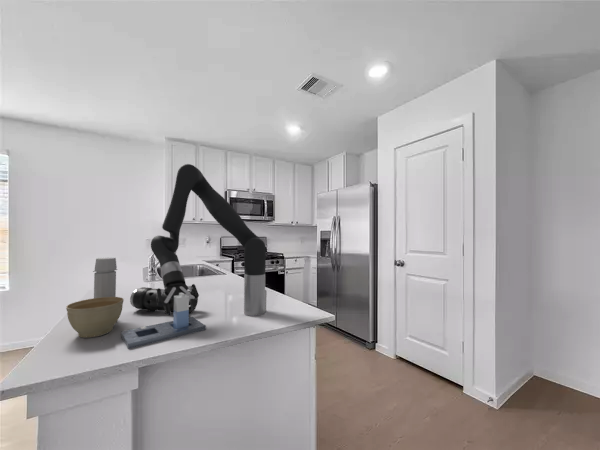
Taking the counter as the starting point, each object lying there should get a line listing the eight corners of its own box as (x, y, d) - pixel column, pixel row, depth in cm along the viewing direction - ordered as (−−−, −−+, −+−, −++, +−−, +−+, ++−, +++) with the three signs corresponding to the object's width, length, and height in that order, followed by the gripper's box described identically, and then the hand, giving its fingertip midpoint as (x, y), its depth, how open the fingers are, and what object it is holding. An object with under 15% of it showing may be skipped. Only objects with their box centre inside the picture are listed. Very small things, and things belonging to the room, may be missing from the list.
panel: (192, 321, 107) (192, 316, 107) (205, 331, 97) (205, 325, 97) (120, 337, 91) (120, 331, 91) (127, 350, 81) (128, 343, 81)
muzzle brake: (185, 317, 112) (185, 293, 112) (128, 313, 118) (128, 289, 118) (198, 311, 122) (198, 288, 122) (144, 307, 127) (145, 285, 127)
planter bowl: (116, 322, 106) (117, 294, 107) (128, 333, 95) (128, 302, 95) (62, 333, 95) (63, 302, 95) (68, 347, 84) (69, 312, 84)
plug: (184, 326, 101) (185, 291, 101) (188, 329, 98) (188, 293, 98) (173, 328, 98) (173, 293, 98) (176, 331, 95) (177, 295, 95)
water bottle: (118, 321, 107) (119, 258, 108) (94, 326, 101) (95, 259, 102) (112, 316, 113) (113, 256, 114) (89, 320, 108) (90, 257, 108)
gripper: (154, 271, 99) (162, 309, 91) (193, 268, 109) (204, 302, 100) (150, 283, 103) (158, 321, 95) (188, 279, 113) (198, 313, 104)
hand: (181, 311), depth 97 cm, fingers open, 8 cm apart
